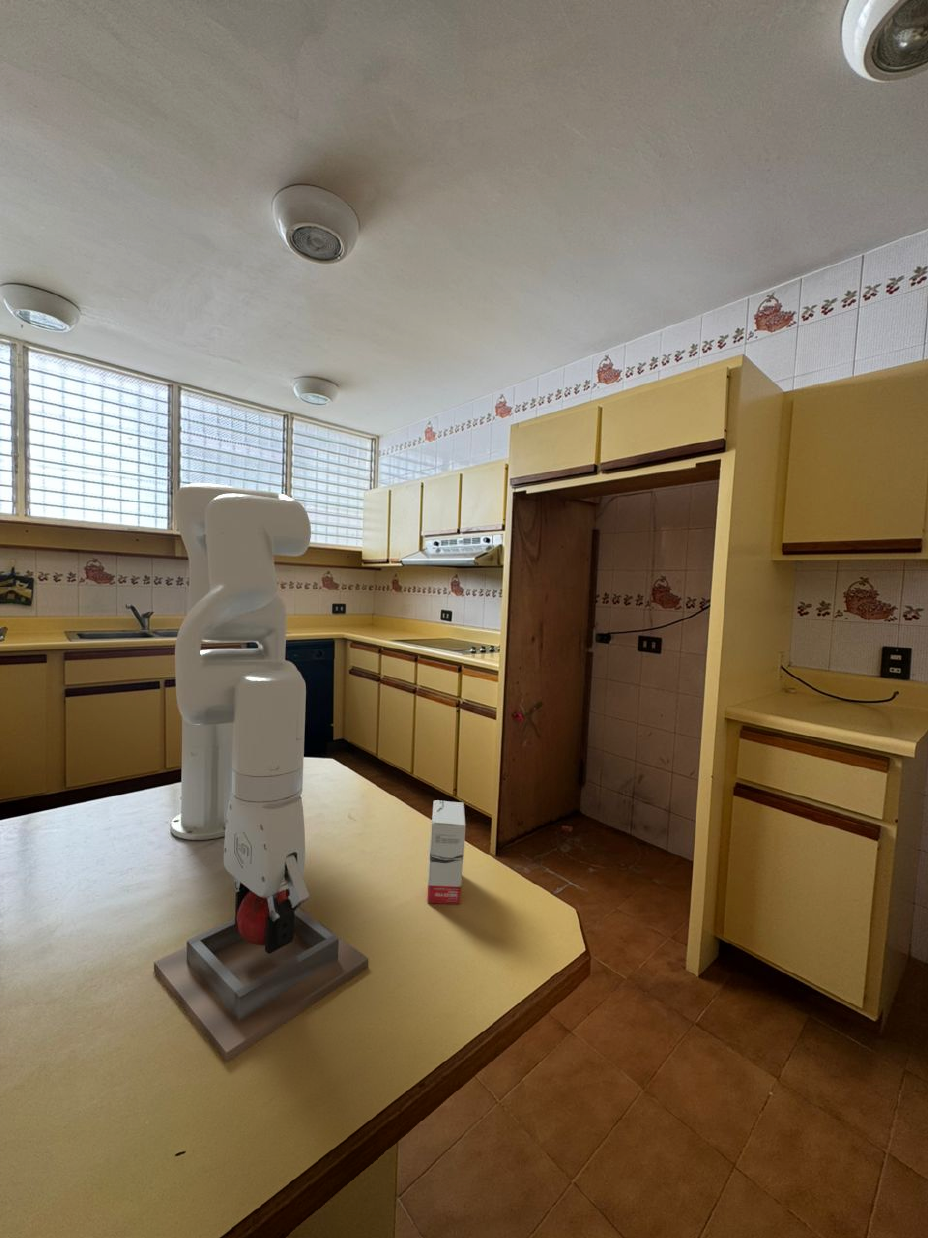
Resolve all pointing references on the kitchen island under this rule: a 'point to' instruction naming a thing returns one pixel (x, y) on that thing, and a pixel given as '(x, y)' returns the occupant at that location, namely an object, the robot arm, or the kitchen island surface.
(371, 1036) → the kitchen island surface
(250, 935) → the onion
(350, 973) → the dock
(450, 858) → the ink box
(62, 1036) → the kitchen island surface
